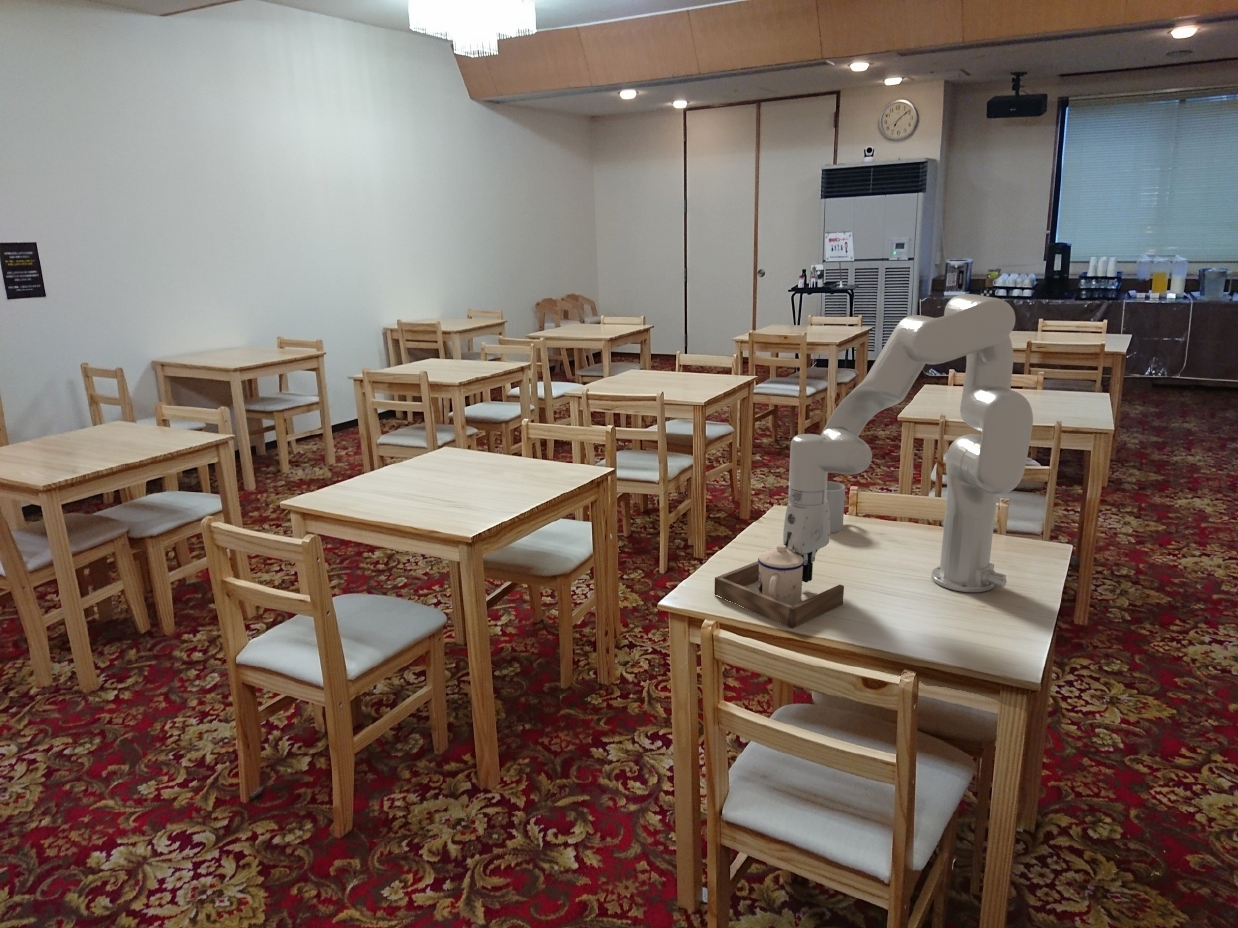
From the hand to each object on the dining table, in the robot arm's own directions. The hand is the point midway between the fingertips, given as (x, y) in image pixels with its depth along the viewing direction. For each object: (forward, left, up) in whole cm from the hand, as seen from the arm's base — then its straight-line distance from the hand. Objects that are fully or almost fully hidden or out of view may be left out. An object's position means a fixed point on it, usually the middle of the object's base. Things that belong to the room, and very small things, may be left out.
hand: (803, 579), depth 177 cm
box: (0, +8, -2) cm, 8 cm away
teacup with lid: (-1, +9, -2) cm, 9 cm away
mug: (+20, -36, -2) cm, 41 cm away
